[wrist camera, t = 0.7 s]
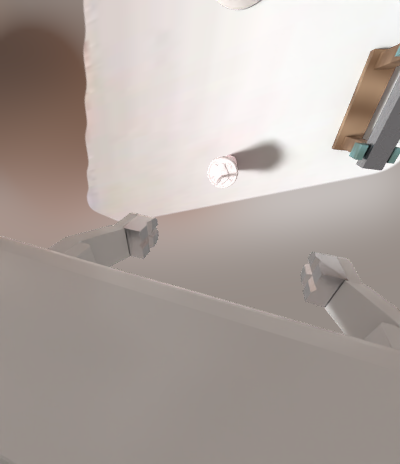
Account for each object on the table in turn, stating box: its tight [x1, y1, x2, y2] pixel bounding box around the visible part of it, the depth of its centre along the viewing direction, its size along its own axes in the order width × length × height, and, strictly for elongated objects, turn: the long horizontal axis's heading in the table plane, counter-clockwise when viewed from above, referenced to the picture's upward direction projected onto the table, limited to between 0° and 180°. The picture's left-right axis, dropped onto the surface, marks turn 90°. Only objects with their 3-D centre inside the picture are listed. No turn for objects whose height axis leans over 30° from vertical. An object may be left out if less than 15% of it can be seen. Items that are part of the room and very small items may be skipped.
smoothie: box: [208, 155, 238, 188], centre depth 42 cm, size 6×6×14 cm
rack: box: [332, 44, 400, 163], centre depth 30 cm, size 15×5×14 cm, turn 176°
